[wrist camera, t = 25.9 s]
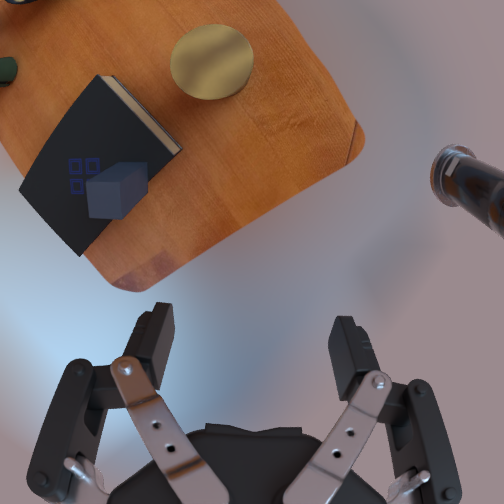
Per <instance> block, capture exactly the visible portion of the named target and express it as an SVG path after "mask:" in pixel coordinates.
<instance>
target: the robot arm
mask: <svg viewBox="0 0 504 504" xmlns="http://www.w3.org/2000/svg"><path fill="white" fill-rule="evenodd" d="M439 185H440V189H441V191H442V193H443V195H444V196H445V197H446V198H448V199H449V200H451V201H453V202H454V203H456V204H457V205H459V206H460V207H462V208H463V209H465V210H466V211H467V212H469V213H470V214H471V215H473V216H474V217H476V218H477V219H478V220H480V221H481V222H482V223H484V224H485V225H486V226H488V227H489V228H490V229H491V230H493V231H494V232H495V233H497V234H498V235H499V236H500V237H502V238H503V239H504V171H502V170H500V169H498V168H496V167H493V166H491V165H489V164H487V163H485V162H482V161H480V160H478V159H476V158H473V157H471V156H469V155H467V154H465V153H462V152H456V153H453V154H451V155H450V156H448V157H447V158H446V160H445V161H444V162H443V164H442V166H441V169H440V173H439ZM174 332H175V325H174V316H173V306H172V304H171V303H162V302H156V305H155V306H154V309H153V311H152V312H149V311H145V312H144V313H143V314H142V315H141V316H140V317H139V318H138V320H137V322H136V325H135V327H134V329H133V333H132V334H131V336H130V339H129V341H128V343H127V346H126V348H125V350H124V353H123V355H122V356H121V357H118V358H117V359H115V360H114V361H113V362H112V364H110V365H105V366H92V364H91V363H90V362H89V361H88V360H86V359H75V360H73V361H71V362H70V363H69V364H68V365H67V366H66V368H65V370H64V373H63V375H62V378H61V380H60V382H59V384H58V387H57V389H56V391H55V394H54V396H53V399H52V402H51V404H50V406H49V409H48V412H47V414H46V417H45V420H44V423H43V425H42V428H41V431H40V434H39V437H38V440H37V443H36V446H35V449H34V452H33V455H32V458H31V462H30V465H29V468H28V472H27V476H26V479H27V484H28V486H29V488H30V489H31V491H33V493H35V494H36V495H38V496H40V497H41V498H43V499H44V500H45V501H47V502H48V503H50V504H459V502H460V500H461V498H462V489H461V484H460V480H459V476H458V471H457V468H456V464H455V460H454V456H453V453H452V449H451V445H450V442H449V438H448V435H447V432H446V429H445V426H444V422H443V419H442V416H441V413H440V410H439V407H438V404H437V401H436V398H435V396H434V393H433V390H432V388H431V386H430V385H429V384H428V383H427V382H426V381H424V380H421V379H414V380H412V381H411V382H410V383H409V384H408V385H404V384H399V383H395V382H392V381H391V378H390V377H389V376H388V375H387V374H386V373H384V372H382V371H381V370H380V367H379V364H378V361H377V359H376V356H375V353H374V350H373V349H372V345H371V343H370V339H369V337H368V334H367V333H366V331H365V330H364V329H363V328H362V327H361V326H356V325H355V322H354V320H353V317H352V316H337V317H336V319H335V322H334V325H333V328H332V330H331V334H330V336H329V341H328V349H329V354H330V357H331V362H332V366H333V371H334V376H335V380H336V385H337V390H338V395H339V399H340V401H348V406H347V407H346V409H345V410H344V412H343V413H342V415H341V416H340V418H339V419H338V421H337V422H336V424H335V426H334V427H333V428H332V430H331V431H330V433H329V434H328V436H327V437H326V439H325V440H324V441H323V442H321V441H320V440H318V439H316V438H315V437H312V436H310V435H307V434H303V433H302V428H301V427H278V428H273V429H269V430H263V431H258V432H252V431H248V430H244V429H241V428H237V427H234V426H230V425H221V424H210V423H206V425H205V429H201V430H196V431H193V432H190V433H188V434H186V435H185V434H184V432H183V431H182V429H181V427H180V426H179V425H178V423H177V422H176V420H175V418H174V417H173V415H172V413H171V412H170V410H169V409H168V407H167V405H166V404H165V402H164V400H163V399H162V397H161V396H160V395H159V394H157V393H156V391H155V390H160V386H161V382H162V378H163V375H164V371H165V367H166V364H167V360H168V357H169V353H170V349H171V346H172V342H173V339H174ZM117 408H126V409H127V411H128V413H129V415H130V417H131V419H132V421H133V423H134V425H135V427H136V429H137V431H138V432H139V434H140V436H141V438H142V440H143V441H144V443H145V445H146V447H147V449H148V451H149V453H150V454H151V456H152V458H153V460H152V461H151V462H149V463H148V464H147V465H146V466H144V467H143V468H142V469H140V470H139V471H138V472H136V473H135V474H134V475H132V476H131V477H130V478H128V479H127V480H125V481H124V482H123V483H121V484H120V485H119V486H117V487H116V488H115V489H114V490H113V491H112V492H111V493H110V494H107V493H106V491H105V489H104V479H103V475H102V473H101V472H100V471H99V470H98V469H97V468H96V467H95V466H94V464H95V460H96V455H97V451H98V447H99V443H100V439H101V435H102V431H103V427H104V423H105V419H106V415H107V411H108V409H117ZM377 422H379V423H385V426H386V430H387V436H388V441H389V446H390V452H391V457H392V462H393V469H394V475H395V480H394V481H393V482H392V483H391V484H390V486H389V489H388V497H387V500H385V499H384V498H383V497H382V496H381V495H380V494H379V493H378V492H377V491H376V490H375V489H373V488H372V487H371V486H370V485H369V484H368V483H366V482H365V481H364V480H363V479H362V478H361V477H360V476H359V475H357V474H356V473H355V472H354V471H353V470H352V469H351V468H352V466H353V464H354V462H355V461H356V459H357V458H358V456H359V454H360V452H361V451H362V449H363V447H364V445H365V444H366V442H367V440H368V438H369V436H370V435H371V433H372V431H373V429H374V427H375V425H376V423H377Z"/></svg>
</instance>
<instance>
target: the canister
mask: <svg viewBox="0 0 504 504" xmlns="http://www.w3.org/2000/svg"><path fill="white" fill-rule="evenodd" d="M252 68H253V52H252V48H251V46H250V44H249V42H248V41H247V39H246V38H245V37H244V36H243V35H242V34H241V33H240V32H238V31H237V30H235V29H233V28H231V27H228V26H225V25H219V24H209V25H203V26H200V27H197V28H195V29H193V30H191V31H189V32H188V33H186V34H185V35H184V36H183V37H182V38H181V39H180V40H179V41H178V42H177V44H176V45H175V47H174V49H173V51H172V54H171V59H170V70H171V74H172V77H173V79H174V81H175V83H176V84H177V85H178V87H179V88H180V89H181V90H182V91H184V92H185V93H187V94H188V95H190V96H192V97H195V98H199V99H205V100H214V99H220V98H224V97H229V96H232V95H235V94H237V93H238V92H240V91H241V90H242V89H243V88H244V87H245V86H246V84H247V82H248V80H249V77H250V74H251V71H252Z"/></svg>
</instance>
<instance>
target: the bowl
mask: <svg viewBox="0 0 504 504" xmlns="http://www.w3.org/2000/svg"><path fill="white" fill-rule="evenodd" d="M5 1H7V2H8V3H11V4H20V5H22V4H27V3H31V2H34V1H37V0H5Z"/></svg>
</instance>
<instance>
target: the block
mask: <svg viewBox="0 0 504 504" xmlns="http://www.w3.org/2000/svg"><path fill="white" fill-rule="evenodd" d="M86 190H87V200H88V210H89V218H101V219H118V220H122V219H123V218H124V217H125V216H126V215H127V214H128V213H129V212H130V211H131V209H132V208H133V207H134V206H135V205H136V204H137V203H138V202H139V201H140V200H141V199H142V198H143V197H144V196H145V195H146V194H147V193H148V170H147V162H118V163H116V164H115V165H113V166H111V167H110V168H108V169H106V170H104V171H103V172H101V173H100V174H98V175H96V176H95V177H93V178H91V179H90V180H88V181H87V182H86Z"/></svg>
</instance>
